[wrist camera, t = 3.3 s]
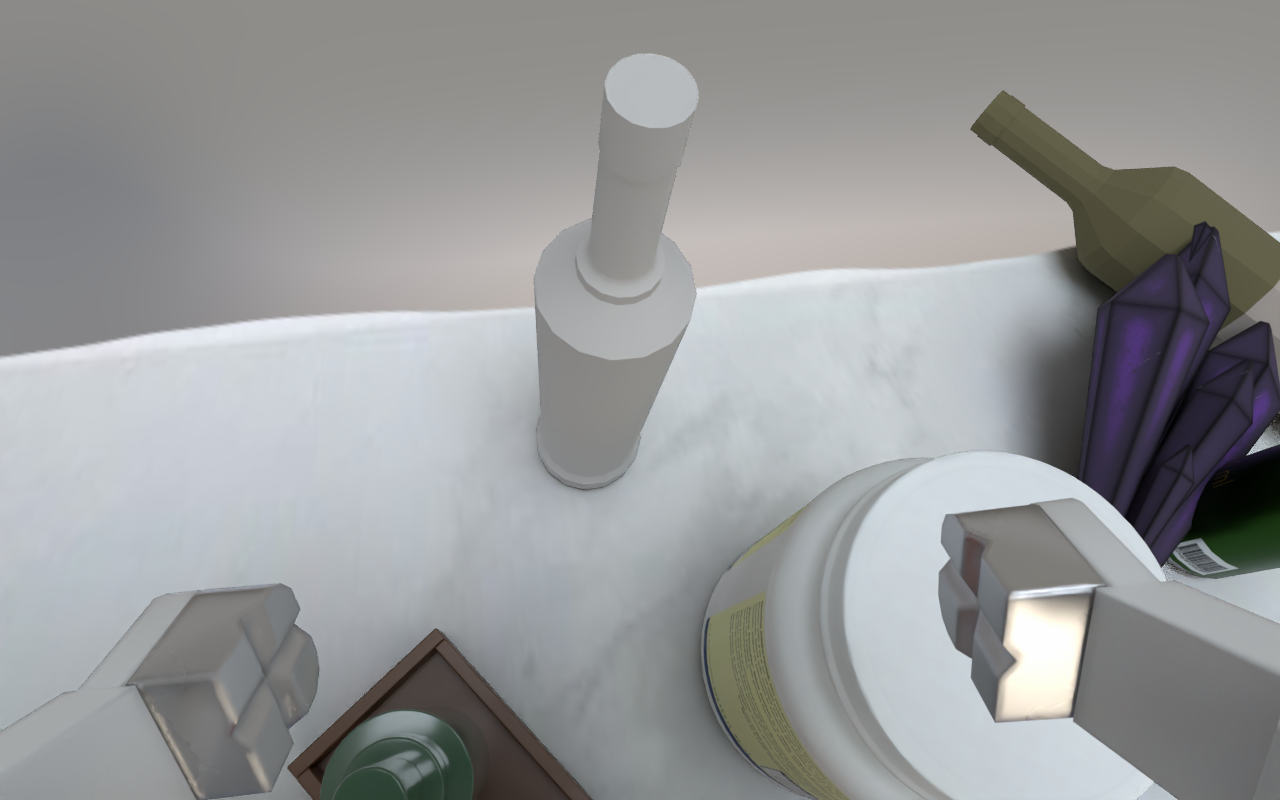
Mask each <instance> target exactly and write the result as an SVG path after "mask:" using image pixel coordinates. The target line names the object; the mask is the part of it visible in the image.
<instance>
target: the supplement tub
mask: <svg viewBox="0 0 1280 800" xmlns="http://www.w3.org/2000/svg"><path fill="white" fill-rule="evenodd" d="M1066 498H1075V499H1077V500H1080V501H1082V502H1083V503H1084V504H1085V505H1086V506H1087V507H1088V508H1089V509H1090V510H1091V511H1092V512H1093V513H1094V514H1095V515H1096V516H1097V517H1098V518H1099V519H1100V520H1101V521H1102V522H1103V523H1104V524H1105V525H1106V526H1107V527H1108V528H1109V529H1110V530H1111V531H1112V532H1113V534H1114V535H1115V536H1116V537H1117V538H1118V539H1119V540H1120V541H1121V542H1122V543H1123V544H1124V545H1125V546H1126V547H1127V548H1128V549H1129V550H1130V551H1131V552H1132V553H1133V554H1134V555H1135V556H1136V557H1137V558H1138V559H1139V560H1140V561H1141V562H1142V563H1143V564H1144V565H1145V566H1146V567H1147V568H1148V569H1149V570H1150V572H1151V573H1152V574H1153V575H1154V576H1155V577H1156V578H1157V579H1158V580H1159V581H1160V582H1162V581H1167V579H1166V577H1165V575H1164V573H1163V571H1162V569H1161V567H1160V565H1159V564H1158V562H1157V560H1156V558H1155V557H1154V555H1153V554H1152V552H1151V551H1150V549H1149V547H1148V546H1147V544H1146V543H1145V542H1144V540H1143V539H1142V538H1141V537H1140V535H1139V534H1138V533H1137V532H1136V530H1135V529H1134V528H1133V527H1132V525H1131V524H1130V523H1129V522H1128V521H1127V520H1126V519H1125V518H1124V517H1123V516H1122V515H1121V514H1120V513H1119V512H1118V511H1117V510H1116V509H1115V508H1114V507H1113V506H1112V505H1111V504H1110V503H1109V502H1107V501H1106V500H1105V499H1104V498H1103V497H1102V496H1101V495H1099V494H1098V493H1097V492H1095V491H1094V490H1093V489H1091V488H1090V487H1088V486H1087V485H1086V484H1084V483H1082V482H1081V481H1079V480H1078V479H1076V478H1075V477H1073V476H1071V475H1069V474H1068V473H1066V472H1064V471H1062V470H1060V469H1057V468H1055V467H1053V466H1051V465H1048V464H1046V463H1043V462H1040V461H1037V460H1035V459H1031V458H1028V457H1025V456H1021V455H1017V454H1012V453H1006V452H998V451H966V452H959V453H954V454H950V455H945V456H941V457H938V458H910V459H899V460H894V461H889V462H884V463H881V464H877V465H874V466H871V467H868V468H865V469H863V470H860V471H857V472H855V473H853V474H851V475H849V476H846V477H844V478H843V479H841V480H839V481H837V482H836V483H834V484H833V485H831V486H830V487H828V488H827V489H826V490H824V491H823V492H822V493H820V494H819V495H818V496H817V497H816V498H815V499H813V500H812V501H811V502H810V503H809V504H807V505H806V506H805V507H803V508H802V509H801V510H799V511H798V512H797V513H795V514H794V515H792V516H791V517H790V518H788V519H787V520H786V521H784V522H783V523H781V524H780V525H779V526H778V527H776V528H775V529H774V530H772V531H771V532H770V533H768V534H767V535H766V536H764V537H763V538H762V539H760V540H759V541H757V542H756V543H754V544H753V545H751V546H750V547H749V548H747V549H746V550H745V551H743V552H742V553H741V554H740V555H739V556H738V557H737V558H736V559H735V560H734V561H733V562H732V563H731V565H730V566H729V567H728V568H727V570H726V571H725V572H724V574H723V575H722V577H721V578H720V580H719V582H718V583H717V585H716V587H715V589H714V591H713V593H712V596H711V598H710V601H709V604H708V607H707V610H706V614H705V618H704V623H703V628H702V636H701V662H702V672H703V678H704V683H705V687H706V692H707V695H708V698H709V701H710V704H711V706H712V709H713V711H714V714H715V716H716V718H717V720H718V722H719V724H720V726H721V727H722V729H723V731H724V732H725V734H726V735H727V737H728V738H729V740H730V741H731V743H732V744H733V745H734V747H735V748H736V749H737V751H738V752H739V753H740V754H741V755H742V756H743V757H744V758H745V759H746V760H747V761H748V762H749V763H750V764H751V765H752V766H753V767H754V768H755V769H756V770H757V771H759V772H760V773H761V774H762V775H764V776H765V777H766V778H768V779H769V780H771V781H772V782H774V783H775V784H777V785H779V786H781V787H783V788H785V789H787V790H789V791H791V792H793V793H795V794H798V795H800V796H803V797H806V798H809V799H814V800H1136V799H1137V798H1139V797H1140V796H1141V795H1142V794H1143V793H1144V792H1146V791H1147V790H1148V789H1149V788H1150V787H1151V785H1152V784H1153V783H1154V781H1152V780H1151V779H1150V778H1148V777H1147V776H1146V775H1144V774H1143V773H1142V772H1140V771H1139V770H1138V769H1136V768H1135V767H1134V766H1132V765H1131V764H1130V763H1128V762H1127V761H1126V760H1124V759H1123V758H1121V757H1120V756H1119V755H1117V754H1116V753H1115V752H1113V751H1112V750H1111V749H1109V748H1108V747H1107V746H1105V745H1104V744H1103V743H1101V742H1100V741H1099V740H1097V739H1096V738H1095V737H1093V736H1092V735H1090V734H1089V733H1088V732H1086V731H1085V730H1084V729H1082V728H1081V727H1080V726H1078V725H1077V724H1076V723H1074V722H1073V718H1061V719H1046V720H1031V721H1016V722H1001V723H995V722H994V720H993V718H992V716H991V714H990V713H989V711H988V709H987V707H986V705H985V703H984V701H983V700H982V698H981V696H980V694H979V692H978V690H977V688H976V687H975V685H974V683H973V681H972V679H971V667H972V659H971V658H969V657H968V656H966V655H965V654H963V653H961V652H960V651H958V650H956V649H955V647H954V645H953V643H952V641H951V639H950V637H949V635H948V633H947V630H946V627H945V624H944V621H943V619H942V615H941V608H940V602H939V596H938V583H939V571H940V570H941V569H942V568H943V566H944V565H945V564H946V563H947V562H948V561H949V559H950V557H949V556H948V554H947V552H946V550H945V549H944V547H943V545H942V544H941V532H942V524H943V521H944V518H945V515H946V514H952V513H960V512H969V511H978V510H987V509H996V508H1005V507H1014V506H1023V505H1029V504H1030V503H1036V502H1044V501H1051V500H1059V499H1066Z"/></svg>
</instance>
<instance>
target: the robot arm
mask: <svg viewBox="0 0 1280 800" xmlns="http://www.w3.org/2000/svg"><path fill="white" fill-rule="evenodd" d="M941 544H942V545H943V547H944V549H945V550H946V552H947V554H948V556H949V557H950V559H949V561H948V562H947V563H946V564H945V565H944V566H943V568H942V569H941V570H940V571H939V583H938V596H939V602H940V608H941V615H942V619H943V621H944V624H945V627H946V630H947V633H948V635H949V637H950V639H951V641H952V643H953V645H954V647H955V649H956V650H958V651H960V652H961V653H963V654H965V655H966V656H968V657H969V658H971V659H972V667H971V679H972V681H973V683H974V685H975V687H976V688H977V690H978V692H979V694H980V696H981V698H982V700H983V701H984V703H985V705H986V707H987V709H988V711H989V713H990V714H991V716H992V718H993V720H994V722H995V723H1001V722H1016V721H1031V720H1046V719H1061V718H1073V722H1074V723H1076V724H1077V725H1078V726H1080V727H1081V728H1082V729H1084V730H1085V731H1086V732H1088V733H1089V734H1090V735H1092V736H1093V737H1095V738H1096V739H1097V740H1099V741H1100V742H1101V743H1103V744H1104V745H1105V746H1107V747H1108V748H1109V749H1111V750H1112V751H1113V752H1115V753H1116V754H1117V755H1119V756H1120V757H1121V758H1123V759H1124V760H1126V761H1127V762H1128V763H1130V764H1131V765H1132V766H1134V767H1135V768H1136V769H1138V770H1139V771H1140V772H1142V773H1143V774H1144V775H1146V776H1147V777H1148V778H1150V779H1151V780H1152V781H1154V782H1155V783H1157V784H1158V785H1159V786H1161V787H1162V788H1163V789H1165V790H1166V791H1167V792H1169V793H1170V794H1171V795H1173V796H1174V797H1175V798H1177V799H1178V800H1280V624H1278V623H1276V622H1273V621H1271V620H1268V619H1266V618H1264V617H1261V616H1259V615H1256V614H1254V613H1252V612H1249V611H1247V610H1244V609H1242V608H1240V607H1237V606H1235V605H1232V604H1230V603H1228V602H1225V601H1223V600H1220V599H1218V598H1216V597H1213V596H1211V595H1208V594H1206V593H1204V592H1201V591H1199V590H1196V589H1194V588H1191V587H1189V586H1187V585H1184V584H1182V583H1179V582H1177V581H1175V580H1173V581H1162V582H1160V581H1159V580H1158V579H1157V578H1156V577H1155V576H1154V575H1153V574H1152V573H1151V572H1150V570H1149V569H1148V568H1147V567H1146V566H1145V565H1144V564H1143V563H1142V562H1141V561H1140V560H1139V559H1138V558H1137V557H1136V556H1135V555H1134V554H1133V553H1132V552H1131V551H1130V550H1129V549H1128V548H1127V547H1126V546H1125V545H1124V544H1123V543H1122V542H1121V541H1120V540H1119V539H1118V538H1117V537H1116V536H1115V535H1114V534H1113V532H1112V531H1111V530H1110V529H1109V528H1108V527H1107V526H1106V525H1105V524H1104V523H1103V522H1102V521H1101V520H1100V519H1099V518H1098V517H1097V516H1096V515H1095V514H1094V513H1093V512H1092V511H1091V510H1090V509H1089V508H1088V507H1087V506H1086V505H1085V504H1084V503H1083V502H1082V501H1080V500H1077V499H1075V498H1066V499H1059V500H1051V501H1044V502H1036V503H1030V504H1029V505H1023V506H1014V507H1005V508H996V509H987V510H978V511H969V512H960V513H952V514H946V515H945V518H944V521H943V524H942V532H941ZM299 611H300V607H299V605H298V602H297V600H296V598H295V596H294V593H293V591H292V589H291V588H290V587H287V586H285V585H283V584H281V583H279V584H267V585H255V586H243V587H231V588H219V589H207V590H204V591H200V590H197V591H187V592H177V593H168V594H165V595H162V596H160V597H157V598H155V599H154V600H153V601H152V602H151V603H150V604H149V606H148V607H147V608H146V609H145V610H144V612H143V613H142V614H141V615H140V616H139V618H138V619H137V620H136V621H135V622H134V624H133V625H132V626H131V627H130V628H129V630H128V631H127V632H126V633H125V634H124V635H123V637H122V638H121V639H120V640H119V641H118V643H117V644H116V645H115V646H114V647H113V649H112V650H111V651H110V652H109V653H108V655H107V656H106V657H105V658H104V659H103V661H102V662H101V663H100V664H99V665H98V667H97V668H96V669H95V670H94V671H93V673H92V674H91V675H90V676H89V677H88V679H87V680H86V681H85V682H84V683H83V684H82V686H81V687H80V688H79V689H78V690H77V691H73V692H64V693H62V694H61V695H59V696H57V697H56V698H54V699H53V700H51V701H49V702H48V703H46V704H44V705H43V706H41V707H40V708H38V709H36V710H35V711H33V712H31V713H30V714H28V715H26V716H25V717H23V718H22V719H20V720H18V721H17V722H15V723H13V724H12V725H10V726H9V727H7V728H5V729H4V730H2V731H0V800H208V799H216V798H225V797H233V796H241V795H249V794H257V793H265V792H271V790H272V788H273V786H274V784H275V782H276V780H277V778H278V775H279V773H280V771H281V769H282V767H283V765H284V763H285V761H286V759H287V756H288V754H289V752H290V750H291V748H292V746H293V744H294V743H293V741H292V738H291V735H290V733H289V730H288V729H289V728H290V727H292V726H293V725H294V724H295V723H296V722H298V721H299V720H300V719H301V718H302V717H304V716H305V715H306V714H307V713H308V711H309V709H310V707H311V704H312V702H313V700H314V697H315V695H316V691H317V684H318V677H319V663H318V656H317V650H316V648H315V645H314V642H313V640H312V637H311V636H310V635H309V634H307V633H306V632H305V631H303V630H302V629H300V628H299V627H298V626H296V625H295V624H294V622H295V620H296V618H297V615H298V613H299Z"/></svg>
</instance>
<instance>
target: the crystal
mask: <svg viewBox="0 0 1280 800" xmlns="http://www.w3.org/2000/svg"><path fill="white" fill-rule="evenodd" d="M1230 310H1231V306H1230V299H1229V293H1228V287H1227V280H1226V274H1225V268H1224V261H1223V255H1222V249H1221V242H1220V236H1219V231H1218V230H1217V229H1216V228H1215V227H1210V226H1209V225H1208V223H1207V222H1206V221H1204V222H1201V223H1199V224H1197V225H1194V230H1193V236H1192V241H1191V242H1190V243H1189V244H1188V245H1187V246H1186V247H1185V248H1184V249H1182V250H1181V251H1180V252H1179V253H1178V254H1177V255H1173V254H1165V255H1164V256H1162V257H1161V258H1160V259H1159V260H1157V261H1156V262H1155V263H1154V264H1152V265H1151V266H1150V267H1149V268H1147V269H1146V270H1145V271H1144V272H1142V273H1141V274H1140V275H1139V276H1137V277H1136V278H1135V279H1134V280H1132V281H1131V282H1130V283H1129V284H1127V285H1126V286H1125V287H1124V288H1122V289H1121V290H1120V291H1119V292H1117V293H1116V294H1115V295H1114V296H1112V297H1111V298H1110V299H1109V300H1107V301H1106V302H1105V303H1104V304H1102V305H1101V306H1100V307H1099V308H1098V311H1097V319H1096V328H1095V336H1094V345H1093V354H1092V362H1091V371H1090V380H1089V388H1088V397H1087V405H1086V414H1085V423H1084V431H1083V440H1082V449H1081V457H1080V466H1079V474H1078V478H1077V479H1078V480H1079V481H1081V482H1082V483H1084V484H1086V485H1087V486H1088V487H1090V488H1091V489H1093V490H1094V491H1095V492H1097V493H1098V494H1099V495H1101V496H1102V497H1103V498H1104V499H1105V500H1106V501H1107V502H1109V503H1110V504H1111V505H1112V506H1113V507H1114V508H1115V509H1116V510H1117V511H1118V512H1119V513H1120V514H1121V515H1122V516H1123V517H1124V518H1125V519H1126V520H1127V521H1128V522H1129V523H1130V524H1131V525H1132V527H1133V528H1134V529H1135V530H1136V532H1137V533H1138V534H1139V535H1140V537H1141V538H1142V539H1143V540H1144V542H1145V543H1146V544H1147V546H1148V547H1149V549H1150V551H1151V552H1152V554H1153V555H1154V557H1155V558H1156V560H1157V562H1158V564H1159V565H1160V567H1161V568H1162V566H1163V565H1164V564H1165V562H1166V561H1167V560H1168V558H1169V557H1170V556H1171V554H1172V553H1173V552H1174V550H1175V549H1176V548H1177V546H1178V545H1179V544H1180V542H1181V541H1182V540H1183V538H1184V537H1185V536H1186V535H1187V533H1188V532H1189V531H1190V529H1191V524H1192V518H1193V515H1194V512H1195V508H1196V505H1197V501H1198V499H1199V497H1200V495H1201V493H1202V491H1203V489H1204V487H1205V485H1206V484H1207V482H1208V481H1209V480H1210V478H1211V477H1212V476H1213V475H1214V473H1215V472H1216V471H1217V470H1218V469H1219V468H1221V467H1222V466H1224V465H1225V464H1226V463H1228V462H1230V461H1233V460H1236V459H1239V458H1242V457H1244V456H1246V455H1247V454H1248V452H1249V451H1250V450H1251V448H1252V447H1253V446H1254V444H1255V443H1256V442H1257V440H1258V439H1259V438H1260V436H1261V435H1262V434H1263V432H1264V431H1265V430H1266V428H1267V427H1268V426H1269V424H1270V423H1271V422H1272V420H1273V419H1274V418H1275V416H1276V415H1277V414H1278V412H1279V411H1280V382H1279V375H1278V368H1277V362H1276V355H1275V349H1274V342H1273V336H1272V329H1271V326H1270V324H1269V323H1267V322H1263V321H1259V322H1257V323H1256V324H1254V325H1252V326H1250V327H1249V328H1247V329H1245V330H1243V331H1242V332H1240V333H1238V334H1236V335H1235V336H1233V337H1231V338H1229V339H1228V340H1226V341H1224V342H1222V343H1221V344H1219V345H1217V346H1215V347H1214V348H1212V349H1210V347H1211V345H1212V343H1213V341H1214V339H1215V338H1216V336H1217V334H1218V332H1219V330H1220V328H1221V327H1222V325H1223V323H1224V321H1225V319H1226V318H1227V316H1228V314H1229V312H1230ZM1209 349H1210V350H1209Z"/></svg>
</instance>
